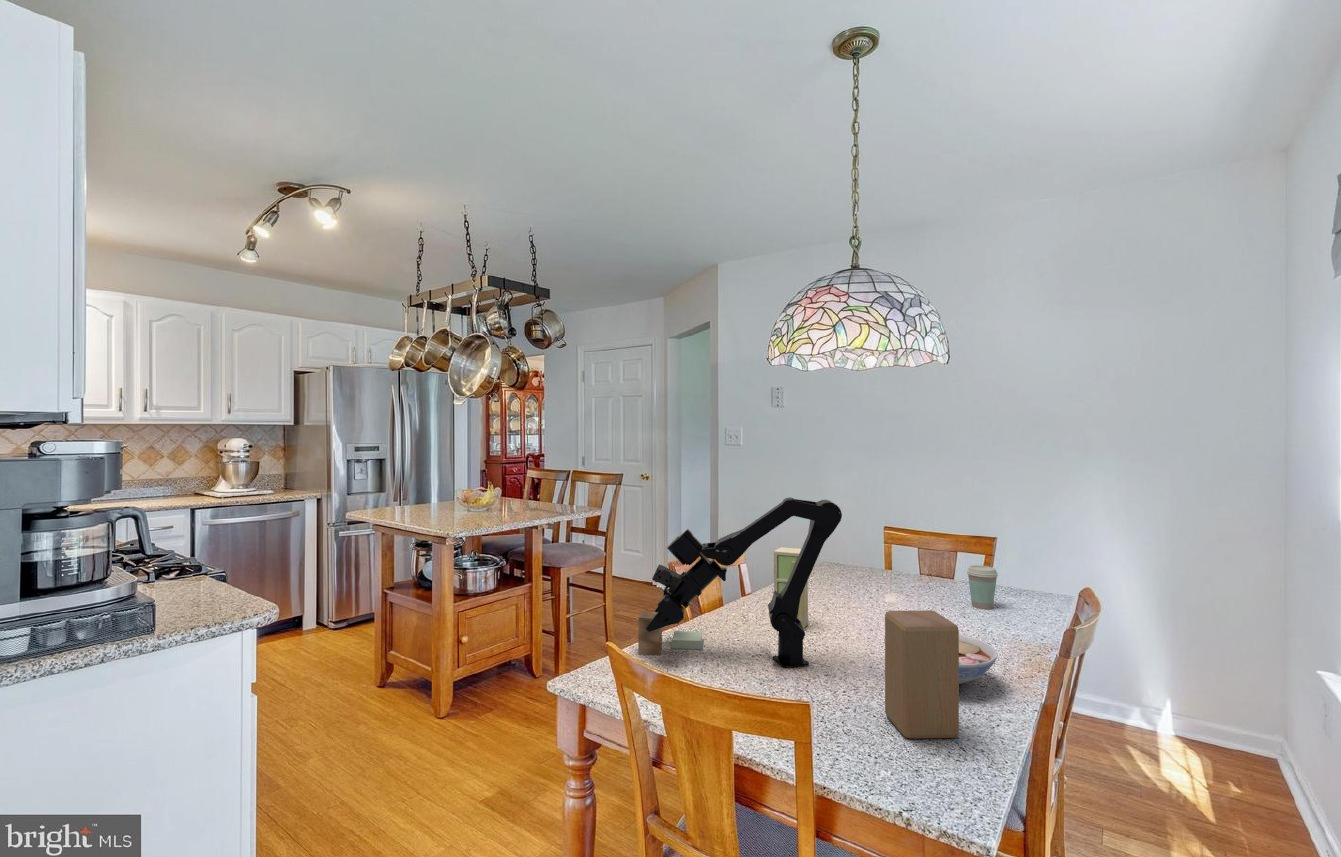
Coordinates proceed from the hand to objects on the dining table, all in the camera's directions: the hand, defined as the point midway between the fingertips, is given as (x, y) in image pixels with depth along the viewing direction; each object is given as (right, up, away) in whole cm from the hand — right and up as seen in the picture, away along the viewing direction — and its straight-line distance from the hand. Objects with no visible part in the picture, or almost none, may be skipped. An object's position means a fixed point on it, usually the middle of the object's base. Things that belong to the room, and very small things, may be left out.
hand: (649, 624), depth 147 cm
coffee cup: (+101, -9, +44) cm, 111 cm away
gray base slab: (+9, -8, +5) cm, 13 cm away
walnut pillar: (0, -8, 0) cm, 8 cm away
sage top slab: (+9, -6, +5) cm, 12 cm away
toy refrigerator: (+38, -8, +24) cm, 46 cm away
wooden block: (+51, -8, -35) cm, 62 cm away
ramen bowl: (+63, -8, -13) cm, 65 cm away
